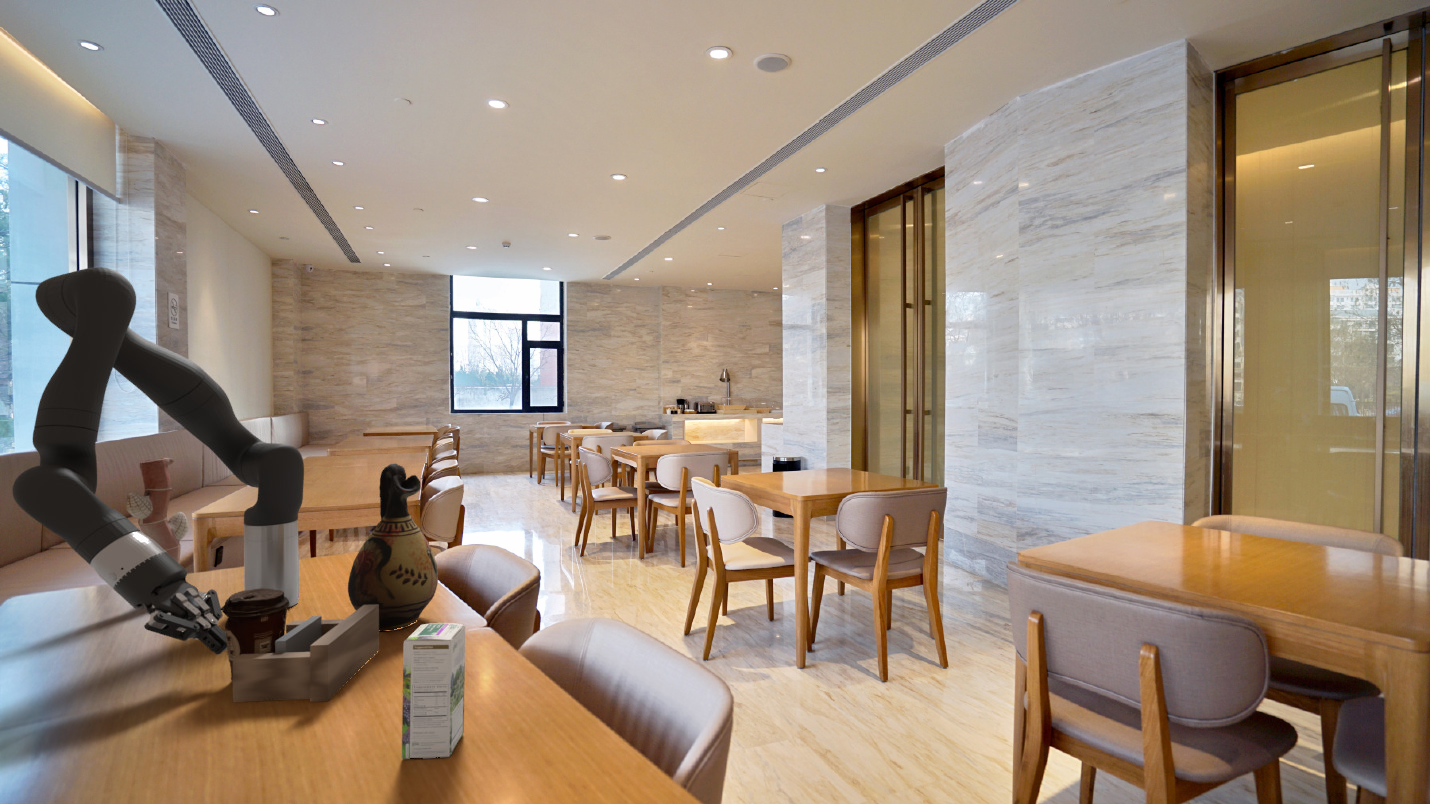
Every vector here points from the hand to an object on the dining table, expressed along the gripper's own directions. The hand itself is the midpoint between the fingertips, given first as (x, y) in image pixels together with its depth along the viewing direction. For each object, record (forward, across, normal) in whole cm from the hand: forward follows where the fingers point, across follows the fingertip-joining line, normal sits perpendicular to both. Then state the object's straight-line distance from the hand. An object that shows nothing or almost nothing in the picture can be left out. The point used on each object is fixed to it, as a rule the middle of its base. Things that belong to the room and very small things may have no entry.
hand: (226, 648), depth 100 cm
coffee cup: (+6, 0, +1) cm, 6 cm away
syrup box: (+30, -22, -23) cm, 44 cm away
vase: (-23, +40, +30) cm, 55 cm away
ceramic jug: (+14, +24, -7) cm, 29 cm away
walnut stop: (+12, 0, -5) cm, 13 cm away
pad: (+10, 0, -4) cm, 11 cm away
